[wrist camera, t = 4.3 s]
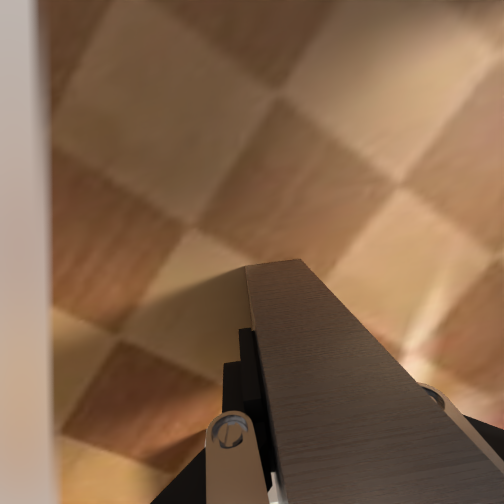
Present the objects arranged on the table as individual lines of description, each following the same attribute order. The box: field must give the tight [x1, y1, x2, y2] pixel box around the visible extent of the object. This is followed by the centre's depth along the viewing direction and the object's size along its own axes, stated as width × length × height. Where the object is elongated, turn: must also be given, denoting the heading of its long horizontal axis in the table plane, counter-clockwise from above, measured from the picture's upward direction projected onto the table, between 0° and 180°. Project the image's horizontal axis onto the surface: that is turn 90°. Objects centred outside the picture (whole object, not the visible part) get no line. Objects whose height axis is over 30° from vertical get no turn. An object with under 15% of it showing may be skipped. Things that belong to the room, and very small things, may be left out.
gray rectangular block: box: [245, 259, 504, 504], centre depth 9 cm, size 6×3×12 cm, turn 7°
